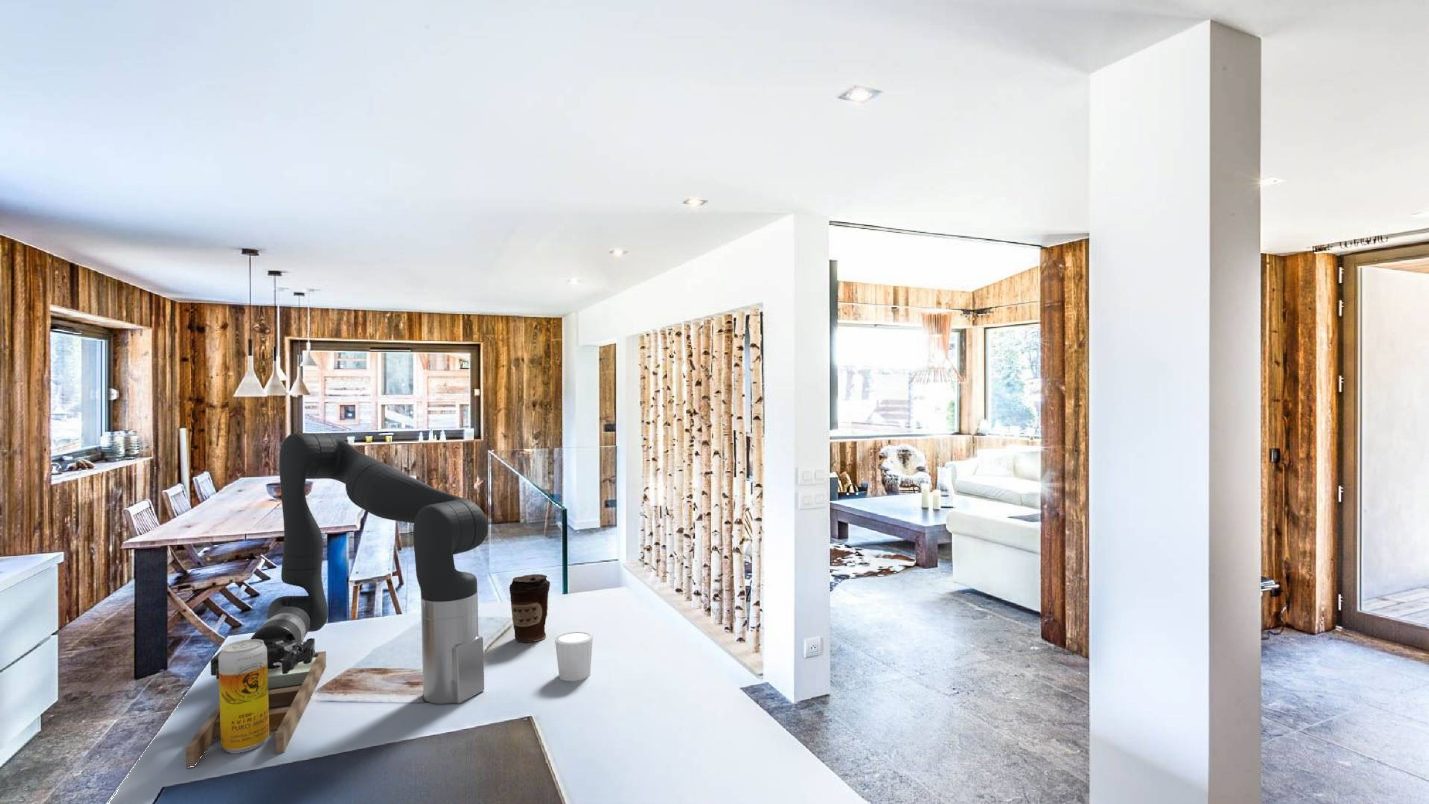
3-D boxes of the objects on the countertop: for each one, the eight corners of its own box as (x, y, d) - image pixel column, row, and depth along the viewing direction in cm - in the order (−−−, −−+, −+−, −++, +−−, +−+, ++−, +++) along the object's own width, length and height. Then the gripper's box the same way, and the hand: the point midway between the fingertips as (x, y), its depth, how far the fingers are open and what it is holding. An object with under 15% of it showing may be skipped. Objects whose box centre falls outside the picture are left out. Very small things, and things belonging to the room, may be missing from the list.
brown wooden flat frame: (254, 676, 135) (253, 660, 135) (326, 666, 139) (325, 651, 139) (186, 768, 101) (185, 747, 101) (283, 752, 105) (283, 732, 105)
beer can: (233, 758, 104) (230, 655, 104) (213, 748, 107) (210, 647, 107) (277, 741, 109) (274, 642, 109) (256, 731, 112) (254, 635, 112)
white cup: (589, 682, 129) (588, 643, 129) (551, 682, 129) (550, 643, 129) (596, 667, 136) (596, 630, 136) (560, 668, 136) (559, 631, 136)
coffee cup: (545, 645, 149) (543, 582, 149) (505, 645, 149) (503, 583, 149) (555, 631, 158) (553, 572, 157) (517, 632, 158) (515, 572, 158)
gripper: (231, 623, 126) (199, 654, 111) (322, 613, 131) (304, 642, 115) (232, 666, 126) (200, 703, 111) (323, 655, 131) (305, 688, 115)
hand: (253, 671), depth 113 cm, fingers open, 8 cm apart
